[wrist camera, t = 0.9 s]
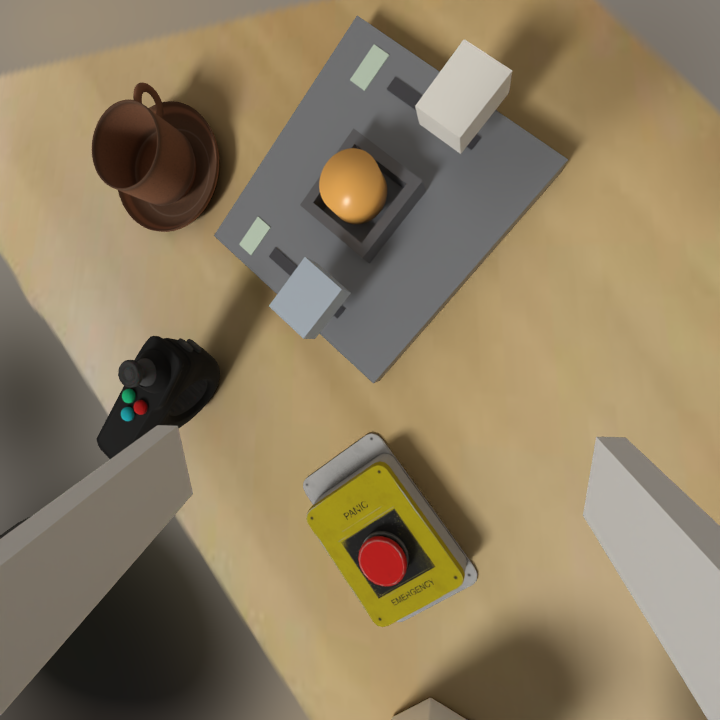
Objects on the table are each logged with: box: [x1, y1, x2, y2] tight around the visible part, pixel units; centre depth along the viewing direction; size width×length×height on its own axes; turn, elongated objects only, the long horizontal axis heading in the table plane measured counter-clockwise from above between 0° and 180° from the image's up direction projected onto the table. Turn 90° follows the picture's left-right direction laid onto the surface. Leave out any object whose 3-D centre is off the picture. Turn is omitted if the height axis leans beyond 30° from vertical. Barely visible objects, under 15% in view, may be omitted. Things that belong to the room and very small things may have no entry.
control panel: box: [214, 16, 568, 383], centre depth 29 cm, size 20×21×4 cm
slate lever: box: [269, 257, 351, 339], centre depth 28 cm, size 4×4×5 cm
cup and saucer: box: [92, 83, 219, 232], centre depth 34 cm, size 12×12×6 cm
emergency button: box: [303, 433, 477, 627], centre depth 31 cm, size 9×4×15 cm
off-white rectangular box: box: [415, 39, 512, 154], centre depth 24 cm, size 4×4×5 cm
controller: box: [97, 336, 220, 459], centre depth 33 cm, size 4×12×10 cm, turn 144°
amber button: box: [319, 148, 387, 224], centre depth 26 cm, size 4×4×2 cm
